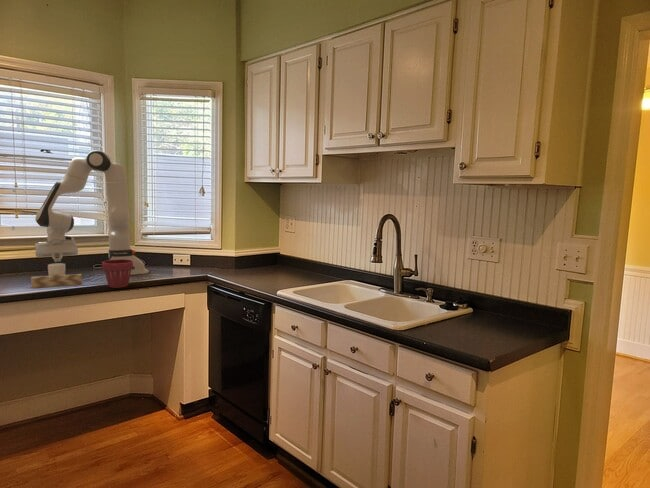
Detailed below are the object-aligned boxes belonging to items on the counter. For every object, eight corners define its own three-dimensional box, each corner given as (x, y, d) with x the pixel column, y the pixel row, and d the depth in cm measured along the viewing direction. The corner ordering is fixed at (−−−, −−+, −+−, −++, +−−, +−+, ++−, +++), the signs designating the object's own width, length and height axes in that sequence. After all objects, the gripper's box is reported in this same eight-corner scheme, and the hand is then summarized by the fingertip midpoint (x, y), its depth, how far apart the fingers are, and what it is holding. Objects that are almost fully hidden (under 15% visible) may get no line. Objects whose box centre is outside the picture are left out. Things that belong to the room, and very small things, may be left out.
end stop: (81, 282, 243) (81, 273, 243) (82, 284, 239) (81, 274, 239) (32, 285, 232) (31, 276, 232) (31, 287, 228) (31, 277, 228)
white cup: (48, 285, 234) (47, 266, 233) (48, 282, 241) (48, 263, 240) (66, 284, 238) (65, 265, 237) (66, 281, 245) (65, 263, 244)
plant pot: (102, 289, 228) (101, 263, 227) (103, 284, 241) (102, 259, 239) (133, 287, 234) (133, 262, 232) (132, 282, 246) (132, 258, 245)
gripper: (34, 238, 252) (34, 259, 245) (76, 237, 263) (78, 256, 255) (35, 246, 257) (35, 266, 250) (76, 244, 267) (78, 263, 260)
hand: (57, 261), depth 253 cm, fingers closed
